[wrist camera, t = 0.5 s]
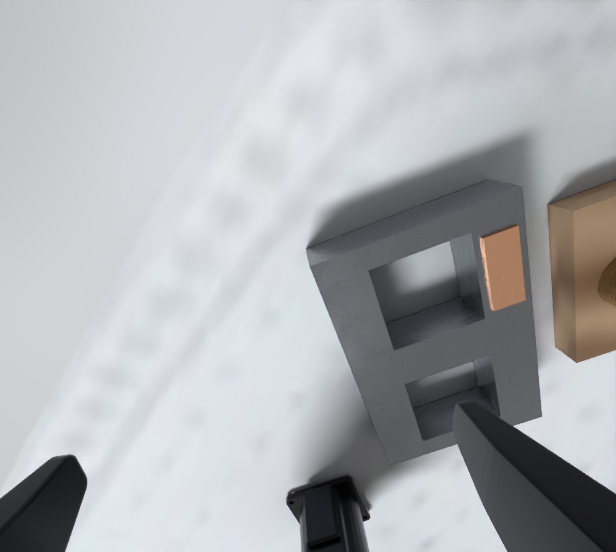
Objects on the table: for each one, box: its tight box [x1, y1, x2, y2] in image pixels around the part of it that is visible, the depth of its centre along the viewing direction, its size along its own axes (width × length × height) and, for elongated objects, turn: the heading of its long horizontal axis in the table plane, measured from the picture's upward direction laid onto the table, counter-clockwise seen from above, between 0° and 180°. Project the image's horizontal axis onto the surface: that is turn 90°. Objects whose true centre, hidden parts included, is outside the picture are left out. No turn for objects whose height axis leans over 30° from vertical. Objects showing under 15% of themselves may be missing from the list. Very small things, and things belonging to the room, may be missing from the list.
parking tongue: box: [548, 179, 616, 363], centre depth 22 cm, size 12×7×2 cm, turn 20°
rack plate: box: [306, 180, 542, 466], centre depth 22 cm, size 18×12×3 cm, turn 20°
